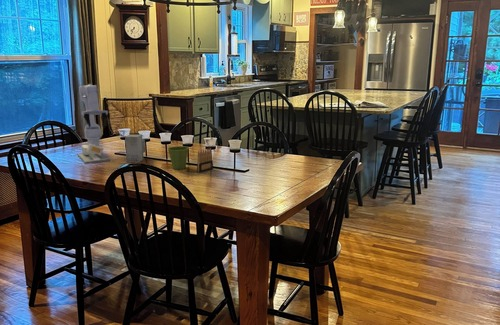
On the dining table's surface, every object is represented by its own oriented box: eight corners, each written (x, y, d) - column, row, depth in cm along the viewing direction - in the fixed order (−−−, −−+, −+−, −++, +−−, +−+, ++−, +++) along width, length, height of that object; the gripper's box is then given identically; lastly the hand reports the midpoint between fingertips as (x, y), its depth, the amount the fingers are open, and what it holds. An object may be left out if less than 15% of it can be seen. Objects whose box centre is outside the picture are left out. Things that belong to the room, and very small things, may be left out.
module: (86, 150, 276) (89, 143, 276) (99, 154, 280) (102, 147, 280) (88, 151, 272) (90, 144, 272) (100, 155, 276) (103, 148, 276)
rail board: (77, 155, 285) (76, 145, 284) (100, 153, 292) (99, 143, 291) (85, 163, 263) (84, 153, 262) (109, 160, 270) (109, 150, 268)
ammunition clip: (199, 173, 240) (198, 150, 238) (196, 172, 241) (196, 150, 239) (213, 169, 248) (212, 147, 246) (210, 168, 250) (210, 147, 247)
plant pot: (181, 164, 259) (180, 145, 257) (194, 168, 251) (193, 148, 249) (163, 168, 251) (162, 148, 249) (176, 171, 243) (175, 151, 241)
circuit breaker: (146, 157, 280) (145, 132, 277) (138, 162, 266) (137, 136, 263) (134, 156, 281) (133, 132, 277) (126, 161, 267) (124, 136, 264)
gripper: (81, 102, 264) (84, 124, 261) (107, 101, 271) (110, 123, 268) (80, 106, 270) (82, 128, 267) (105, 106, 277) (108, 127, 274)
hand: (96, 126), depth 268 cm, fingers open, 7 cm apart
